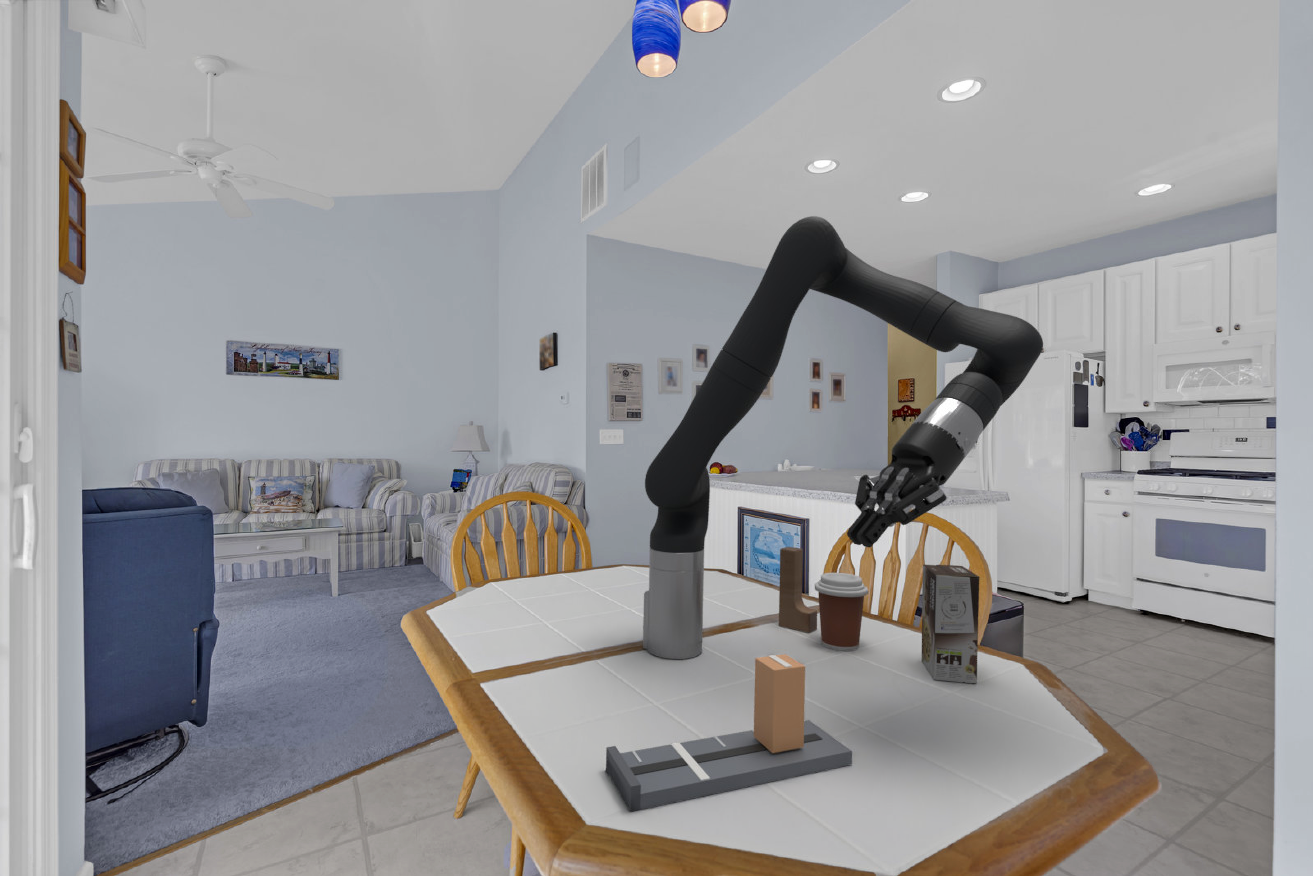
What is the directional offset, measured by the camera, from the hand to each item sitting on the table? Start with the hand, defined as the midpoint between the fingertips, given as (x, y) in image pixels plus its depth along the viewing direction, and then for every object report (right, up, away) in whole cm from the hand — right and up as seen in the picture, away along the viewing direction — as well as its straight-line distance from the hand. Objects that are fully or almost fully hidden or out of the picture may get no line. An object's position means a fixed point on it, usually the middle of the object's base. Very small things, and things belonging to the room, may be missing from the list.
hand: (857, 541), depth 75 cm
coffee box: (+22, -25, +23) cm, 40 cm away
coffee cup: (+8, -24, +35) cm, 43 cm away
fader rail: (-16, -24, -7) cm, 29 cm away
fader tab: (-11, -22, -5) cm, 25 cm away
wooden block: (+3, -24, +44) cm, 51 cm away
